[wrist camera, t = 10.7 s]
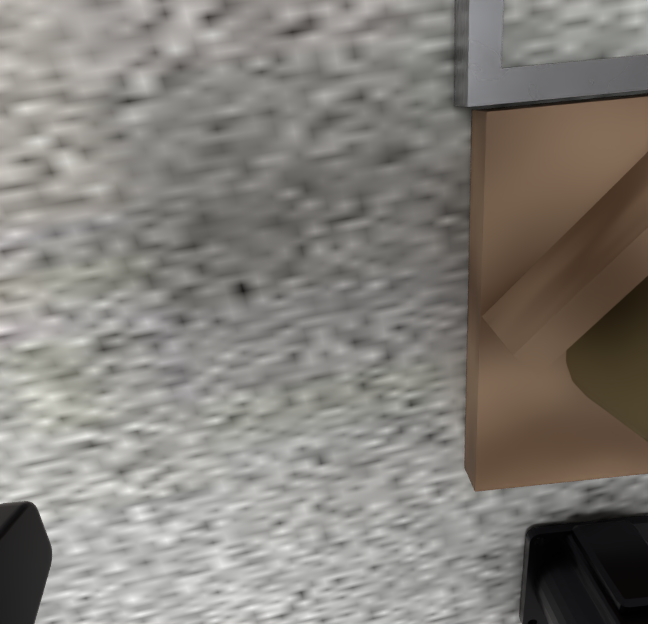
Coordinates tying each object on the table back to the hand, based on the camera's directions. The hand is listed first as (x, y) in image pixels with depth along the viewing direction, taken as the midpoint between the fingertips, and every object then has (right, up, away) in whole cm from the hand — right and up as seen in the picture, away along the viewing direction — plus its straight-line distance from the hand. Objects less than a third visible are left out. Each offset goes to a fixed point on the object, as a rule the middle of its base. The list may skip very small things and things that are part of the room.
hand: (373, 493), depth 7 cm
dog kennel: (+11, +2, +14) cm, 18 cm away
